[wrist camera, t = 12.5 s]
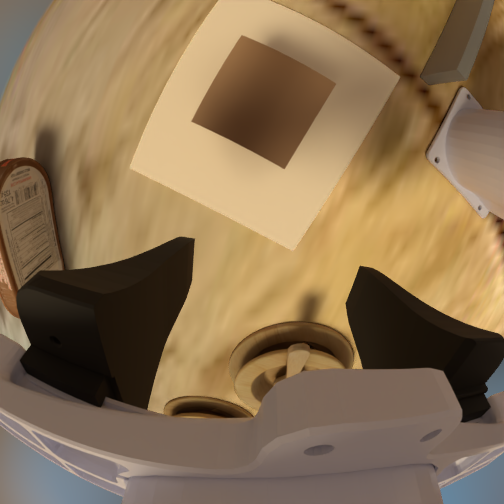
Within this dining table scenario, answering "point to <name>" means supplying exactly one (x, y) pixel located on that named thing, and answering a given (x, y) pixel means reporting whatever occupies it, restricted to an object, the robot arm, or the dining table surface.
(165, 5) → the dining table surface
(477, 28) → the open box
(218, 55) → the mat
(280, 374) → the tableware set
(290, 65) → the walnut block
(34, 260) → the tin
